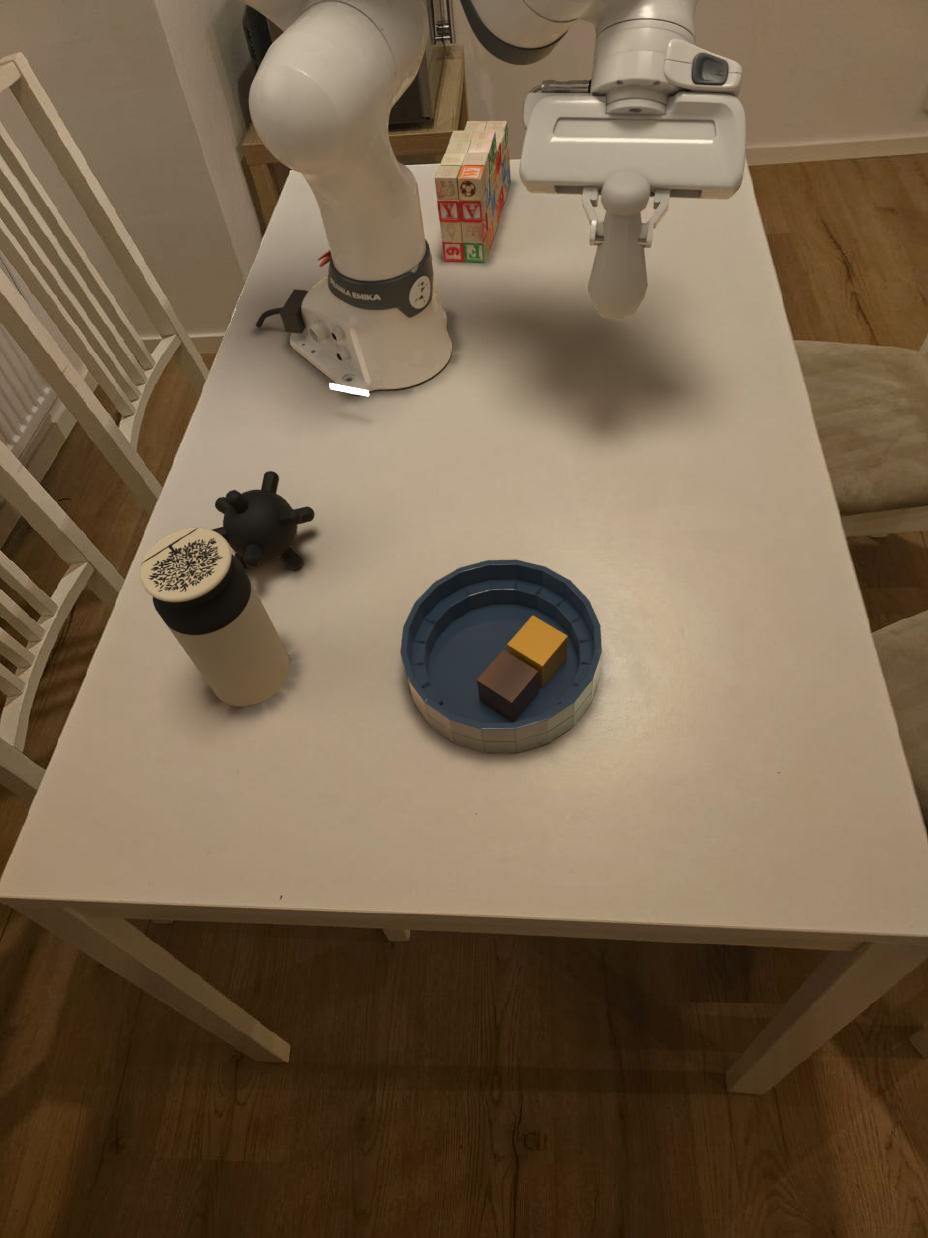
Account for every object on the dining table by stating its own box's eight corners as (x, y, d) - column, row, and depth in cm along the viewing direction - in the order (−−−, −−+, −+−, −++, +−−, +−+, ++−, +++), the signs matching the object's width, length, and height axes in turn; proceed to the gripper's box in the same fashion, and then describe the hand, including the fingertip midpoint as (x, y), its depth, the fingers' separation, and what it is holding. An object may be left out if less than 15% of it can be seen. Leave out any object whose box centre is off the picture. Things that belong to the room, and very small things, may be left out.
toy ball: (341, 558, 84) (227, 589, 79) (313, 561, 93) (210, 589, 88) (314, 457, 82) (195, 482, 77) (288, 470, 92) (181, 494, 87)
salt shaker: (656, 310, 81) (674, 180, 71) (611, 333, 80) (623, 204, 69) (619, 282, 84) (631, 154, 73) (575, 304, 83) (580, 177, 72)
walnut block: (479, 700, 76) (476, 679, 73) (505, 670, 77) (503, 648, 74) (513, 723, 74) (511, 703, 71) (539, 692, 76) (538, 670, 72)
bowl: (371, 687, 78) (360, 658, 74) (486, 564, 85) (482, 531, 81) (523, 794, 71) (521, 769, 66) (634, 650, 78) (640, 618, 74)
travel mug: (304, 681, 79) (248, 570, 64) (230, 723, 77) (155, 618, 63) (271, 626, 83) (211, 509, 68) (200, 664, 81) (122, 553, 67)
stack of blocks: (472, 182, 128) (465, 97, 118) (511, 182, 127) (508, 97, 117) (443, 261, 117) (433, 175, 106) (486, 263, 115) (480, 176, 105)
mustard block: (508, 666, 78) (507, 644, 74) (533, 637, 79) (532, 614, 76) (542, 687, 76) (542, 666, 73) (567, 658, 78) (567, 635, 74)
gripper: (521, 63, 72) (506, 231, 75) (761, 65, 68) (735, 241, 71) (530, 94, 78) (515, 248, 81) (750, 97, 74) (727, 258, 77)
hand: (620, 245), depth 76 cm, fingers closed on salt shaker, 3 cm apart
